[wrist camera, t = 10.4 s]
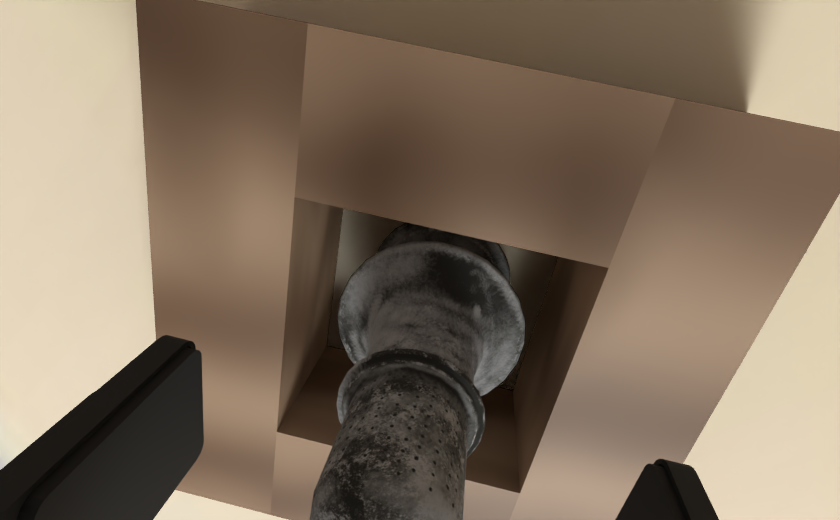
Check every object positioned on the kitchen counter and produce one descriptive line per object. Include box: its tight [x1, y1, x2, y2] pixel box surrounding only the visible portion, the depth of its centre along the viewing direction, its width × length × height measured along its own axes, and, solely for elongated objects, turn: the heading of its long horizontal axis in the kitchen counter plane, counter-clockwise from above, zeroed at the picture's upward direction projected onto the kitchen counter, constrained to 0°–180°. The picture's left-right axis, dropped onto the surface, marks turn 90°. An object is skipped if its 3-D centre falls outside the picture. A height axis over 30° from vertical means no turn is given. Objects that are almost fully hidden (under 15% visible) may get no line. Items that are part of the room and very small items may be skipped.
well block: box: [136, 0, 840, 520], centre depth 15 cm, size 16×16×5 cm
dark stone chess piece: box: [310, 223, 525, 520], centre depth 12 cm, size 6×6×12 cm
